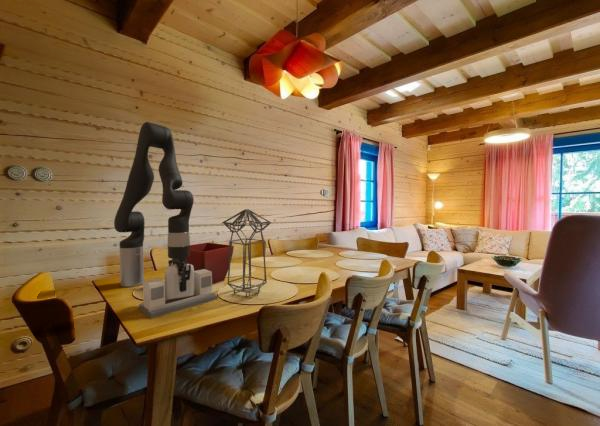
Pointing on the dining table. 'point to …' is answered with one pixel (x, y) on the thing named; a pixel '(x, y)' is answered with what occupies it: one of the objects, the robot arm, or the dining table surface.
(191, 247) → the plant pot
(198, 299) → the rail board
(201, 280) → the mounted modules
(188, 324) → the dining table surface
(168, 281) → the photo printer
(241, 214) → the geometric lantern
